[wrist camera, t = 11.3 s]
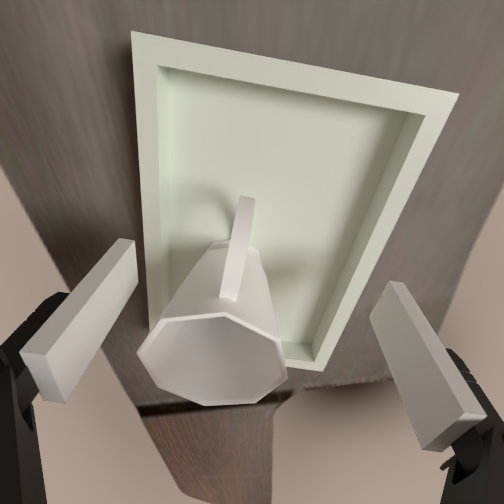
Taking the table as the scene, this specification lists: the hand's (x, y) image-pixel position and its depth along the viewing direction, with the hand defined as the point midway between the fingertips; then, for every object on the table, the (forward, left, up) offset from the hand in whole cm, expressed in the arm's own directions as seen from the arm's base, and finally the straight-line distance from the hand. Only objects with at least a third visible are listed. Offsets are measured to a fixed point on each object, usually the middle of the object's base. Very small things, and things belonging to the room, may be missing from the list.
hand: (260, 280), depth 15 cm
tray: (0, 0, -5) cm, 5 cm away
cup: (+1, -2, -5) cm, 5 cm away
